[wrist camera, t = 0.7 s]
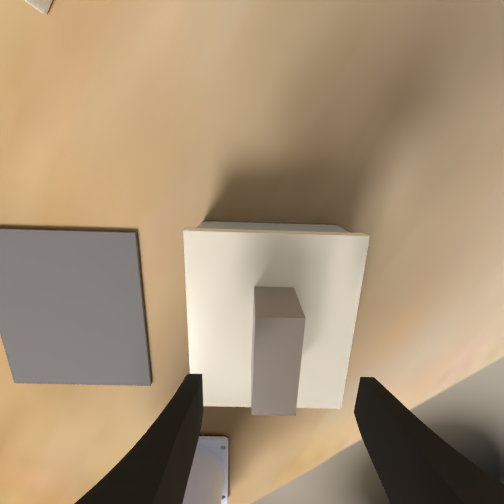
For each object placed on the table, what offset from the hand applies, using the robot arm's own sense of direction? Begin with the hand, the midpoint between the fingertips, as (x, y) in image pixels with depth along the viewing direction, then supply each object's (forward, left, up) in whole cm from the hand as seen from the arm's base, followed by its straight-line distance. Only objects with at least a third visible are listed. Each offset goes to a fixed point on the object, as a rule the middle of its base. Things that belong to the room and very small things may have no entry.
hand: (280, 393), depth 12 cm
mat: (-2, +16, -10) cm, 19 cm away
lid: (0, 0, -6) cm, 6 cm away
